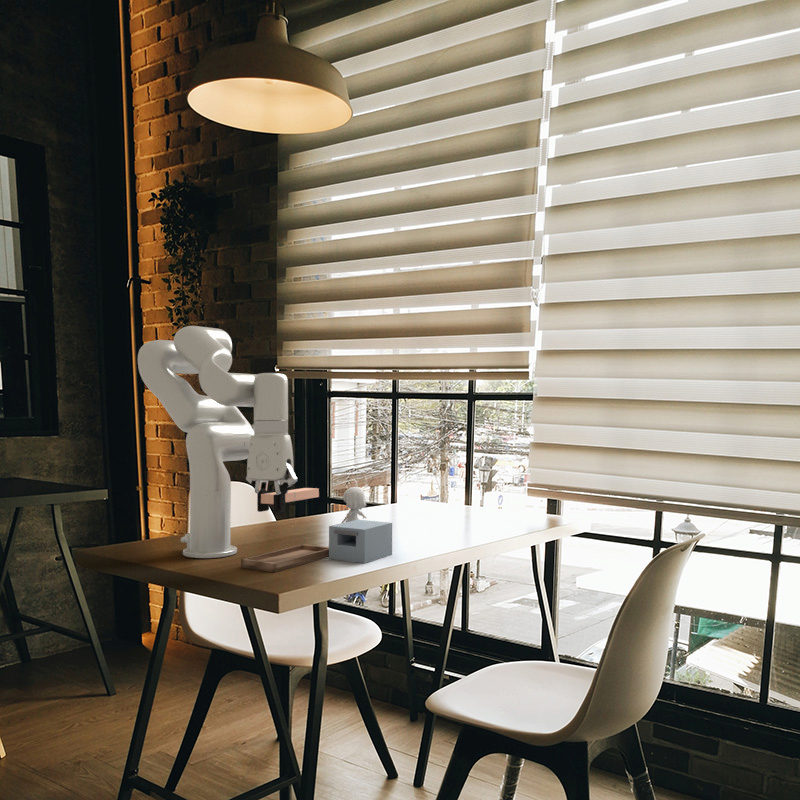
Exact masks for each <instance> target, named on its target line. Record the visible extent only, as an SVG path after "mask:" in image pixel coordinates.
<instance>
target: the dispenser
mask: <svg viewBox="0 0 800 800" xmlns="http://www.w3.org/2000/svg"><path fill="white" fill-rule="evenodd" d="M328 547H329V557H328V559H329V560H336V561H344V562H350V563H351V562H352V563H360V564H367V563H370V562H374V561H377V560H380V559H382V558H383V559H384V558H385V557H388V556H392V555H393V522H389V521H387V522H386V521H375V520H364V519H359V520H354V521H350V522H346V521H345V522H344V523H342V522H340V523H337V524H331V525H329V526H328Z"/></svg>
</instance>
